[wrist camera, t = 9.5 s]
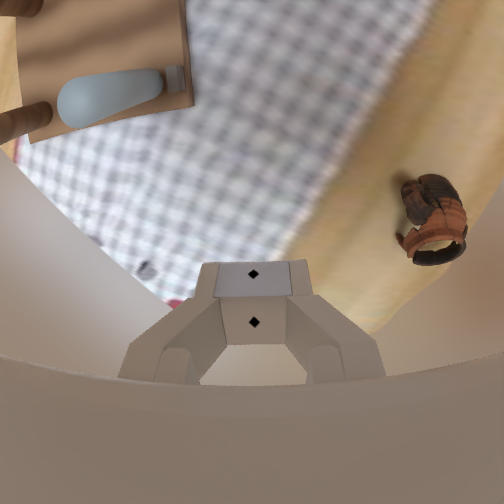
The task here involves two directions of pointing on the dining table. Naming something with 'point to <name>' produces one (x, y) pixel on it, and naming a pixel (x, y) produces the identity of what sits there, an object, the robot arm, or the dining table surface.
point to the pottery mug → (433, 220)
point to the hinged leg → (106, 94)
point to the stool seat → (93, 56)
